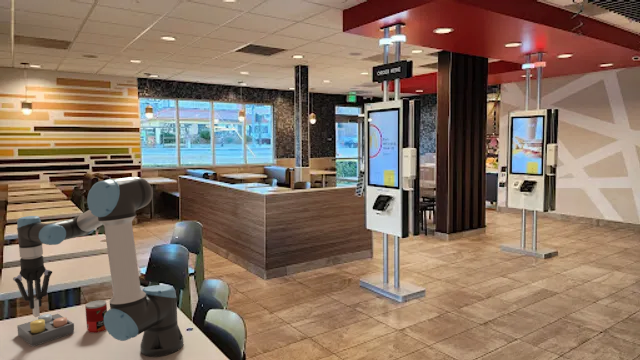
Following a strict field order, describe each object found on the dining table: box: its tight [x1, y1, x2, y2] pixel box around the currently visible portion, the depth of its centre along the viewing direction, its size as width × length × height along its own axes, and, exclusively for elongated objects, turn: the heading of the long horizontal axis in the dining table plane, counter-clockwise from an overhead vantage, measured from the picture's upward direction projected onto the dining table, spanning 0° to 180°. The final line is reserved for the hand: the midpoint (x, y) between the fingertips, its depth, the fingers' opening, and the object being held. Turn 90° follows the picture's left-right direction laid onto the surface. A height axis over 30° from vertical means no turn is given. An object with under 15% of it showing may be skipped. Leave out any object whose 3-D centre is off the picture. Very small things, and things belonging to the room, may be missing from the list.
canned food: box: [85, 299, 108, 334], centre depth 182 cm, size 8×8×11 cm
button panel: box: [16, 313, 75, 347], centre depth 179 cm, size 16×15×4 cm
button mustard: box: [30, 319, 45, 333], centre depth 173 cm, size 5×5×4 cm
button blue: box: [37, 313, 52, 323], centre depth 183 cm, size 5×5×4 cm
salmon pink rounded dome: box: [53, 316, 68, 328], centre depth 179 cm, size 5×5×4 cm
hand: (36, 315), depth 173 cm, fingers closed
